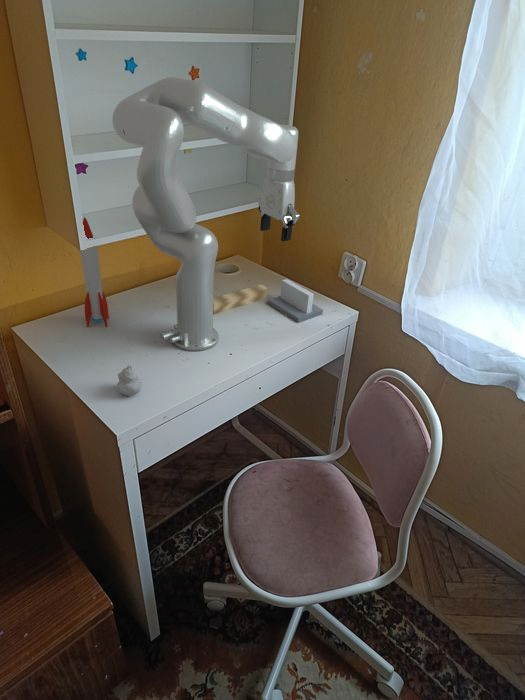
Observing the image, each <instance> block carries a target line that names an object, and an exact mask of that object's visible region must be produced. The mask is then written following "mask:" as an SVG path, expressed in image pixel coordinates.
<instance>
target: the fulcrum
mask: <svg viewBox="0 0 525 700" xmlns="http://www.w3.org/2000/svg"><path fill="white" fill-rule="evenodd" d="M267 304H268V305H269V306H270V307H273V308H274V309H276V310H277V311H278V312H281V313H282V314H283V315H285V316H287V317H288V318H290V319H292V320H293V321H295V322H296V323H298V324H299V323H301V322H302V323H303V322H304V321H307V320H311V319H312V318H317V317H319V316H321V315H323V313H324V309H322V308H321V307H319V306H317V305H316V304H314V293H313V292H311V291H309V290H307V289H305V288H304V287H303V286H300V285H299V284H297V283H295V282H293V281H291V280H289V278H288V279H287V278H285V279H282V280H281V289H280V295H279V296H276V297H273V298H269V299H268V303H267Z"/></svg>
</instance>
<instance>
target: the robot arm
mask: <svg viewBox="0 0 525 700" xmlns="http://www.w3.org/2000/svg"><path fill="white" fill-rule="evenodd" d="M116 105H117V106H116V107H115V109H114V110H113V112H112V117H111V118H112V119H111V120H112V121H111V123H112V126H113V130H114V131H115V134H116V135H117V136H118V137H119V138H120V139H121V140H122V141H124V142H125V143H128V144H131V145H135V146H138V147H142V150H141V153H140V157H139V160H138V164H137V168H136V180H137V183H138V186H137V187H136V189H135V191H134V193H133V196H132V203H131V204H132V210H133V214H134V216H135V217H136V219H137V221H138V223H139V224H140V226H141V227H142V229H143V231H144V232H145V234H146V235H147V236H148V238H149V240H150V241H151V243H152V244H153V245H154V246H155V248H156V249H158V251H160V252H162V253H163V254H166V255H168V256H170V257H172V258H175V259H176V260H178V261H180V264H181V265H180V267H179V269H178V271H177V273H176V277H175V297H176V298H175V301H176V302H175V303H176V324H175V323H174V324H173V329H171V330H170V331H166V332H162V333H160V338H161V340H162V341H163V342H165V341H167V340H170V343H172V344H174V345H175V346H176V347H178V348H180V349H183V350H185V351H186V350H187V351H193V352H194V351H204V350H208V349H210V348H212V347H214V346H216V344H217V343H218V341H219V336H220V335H219V331H217V329H215V328H214V314H213V298H214V278H215V277H214V273H215V265H216V259H217V255H218V251H219V243H218V239H217V237H216V236H215V234H214V233H213V232H212V231H211V230H209V229H208V228H206V227H205V226H202V225H200V224H197V223H196V220H197V212H196V208H195V206H194V203H193V200H192V199H191V197H190V195H189V193H188V191H187V189H186V187H185V185H184V184H183V181H182V180H181V177H180V175H179V173H178V171H177V162H178V161H177V160H178V156H179V153H180V149H181V148H182V147H181V146H182V144H183V141H184V136H185V127H184V124H187V125H189V126H192V127H193V128H196V129H197V130H199V131H201V132H204V133H206V134H208V135H210V136H212V137H214V138H216V139H217V140H219V141H221V142H224V143H225V144H228V145H232V146H235V147H240V148H243V150H244V151H245V153H246V154H248V155H249V156H251V157H255V158H258V159H263V160H266V161H267V164H266V165H267V167H266V169H267V170H266V177H264V181H263V184H262V189H261V193H260V194H261V195H260V197H259V198H257V204H258V211H259V217H260V227H259V228H260V231H261V232H265V231H268V230H269V231H270V230H271V221H272V219H275V220H277V221H281V222H282V224H283V226H282V228H281V238H280V240H281V242H282V243H283V242H289V241H291V240H292V232H293V228H294V227H295V225H296V224H297V223H298V220H299V218H300V214H299V213H298V212H297V210H296V209H295V201H296V199H295V198H296V197H295V195H296V194H295V193H296V192H295V191H296V190H295V182H294V180H295V171H296V163H297V162H296V161H297V152H298V141H299V130H298V128H297V127H295V126H292V125H290V124H279V123H278V122H275V121H273V120H271V119H269V118H267V117H265V116H263V115H260V114H258V113H256V112H254V111H253V110H250V109H248V108H246V107H243V106H242V105H239V104H238V103H235V101H233V100H231V99H230V98H227V97H226V96H224V95H223V94H221V93H219V92H218V91H216V90H215V89H214V88H212V87H210V86H208V85H207V84H205V83H203V82H202V81H201V82H200V81H198V80H195V79H193V80H192V79H188V78H187V79H186V78H180V77H175V76H170V77H165V78H161V79H160V80H157V81H155V82H154V83H151V84H149V85H148V86H146V87H144V88H142V89H140V90H138V91H136V92H135V93H132V94H131V95H129V96H127V97H124V98H123V99H122V100H121V101H120V102H119V103H118V104H116ZM271 218H272V219H271Z"/></svg>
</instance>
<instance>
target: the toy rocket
mask: <svg viewBox="0 0 525 700" xmlns="http://www.w3.org/2000/svg"><path fill="white" fill-rule="evenodd" d="M82 224H83V225H84V231H85V235H86V237H87V238H88V239H89V238H93V236H94V234H93V232H92V230H91V227H90V224H89V222H88V220H87V218H86V217H83V219H82ZM79 254H80V259H81V267H82V271H83V277H84V283H85V290H86V295H85V301H84V318H85V323H86V328H89V327H90V322H91V321H92V322H94V323H99V322H103V324H104V326H105V327H106V328H108V319H110V315H109V306H108V301H107V299H106V294H105V292H103V289H102V278H101V269H100V259H99V258H100V256H99V249H98V245H97V246H93V247H90V248H87V249H85V250H80V249H79Z"/></svg>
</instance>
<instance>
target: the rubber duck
mask: <svg viewBox="0 0 525 700" xmlns="http://www.w3.org/2000/svg"><path fill="white" fill-rule="evenodd" d="M117 377H118V380H119V381H118V382H117V383H116V389H117V391H119V393H121V394H122V395H125V396H133V395H136V394H138V393H139V392H140V390H141V386H142V381H141V378H140V377H139V376H137V373H136V370H135V369H134V368H133V367H132V365H130V364H128V365H127V367H124V368H123V369H122V370H121V372H119V373H118V374H117Z"/></svg>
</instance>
